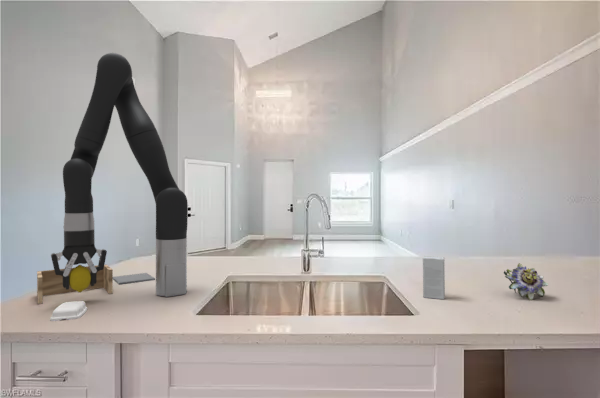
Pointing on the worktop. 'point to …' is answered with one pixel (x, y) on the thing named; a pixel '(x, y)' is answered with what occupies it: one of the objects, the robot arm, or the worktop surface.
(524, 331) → the worktop surface
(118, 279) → the slate coaster
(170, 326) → the worktop surface
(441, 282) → the skincare box
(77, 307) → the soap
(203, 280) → the worktop surface
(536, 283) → the passion flower
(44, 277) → the open u-shaped oak frame
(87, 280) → the lemon
